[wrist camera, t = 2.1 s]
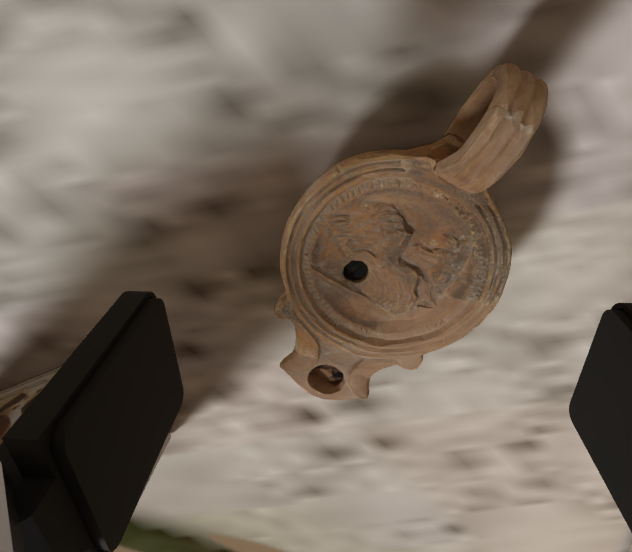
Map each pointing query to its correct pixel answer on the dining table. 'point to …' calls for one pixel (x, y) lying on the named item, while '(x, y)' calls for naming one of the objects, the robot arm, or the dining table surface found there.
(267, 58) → the dining table surface
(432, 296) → the oil lamp
